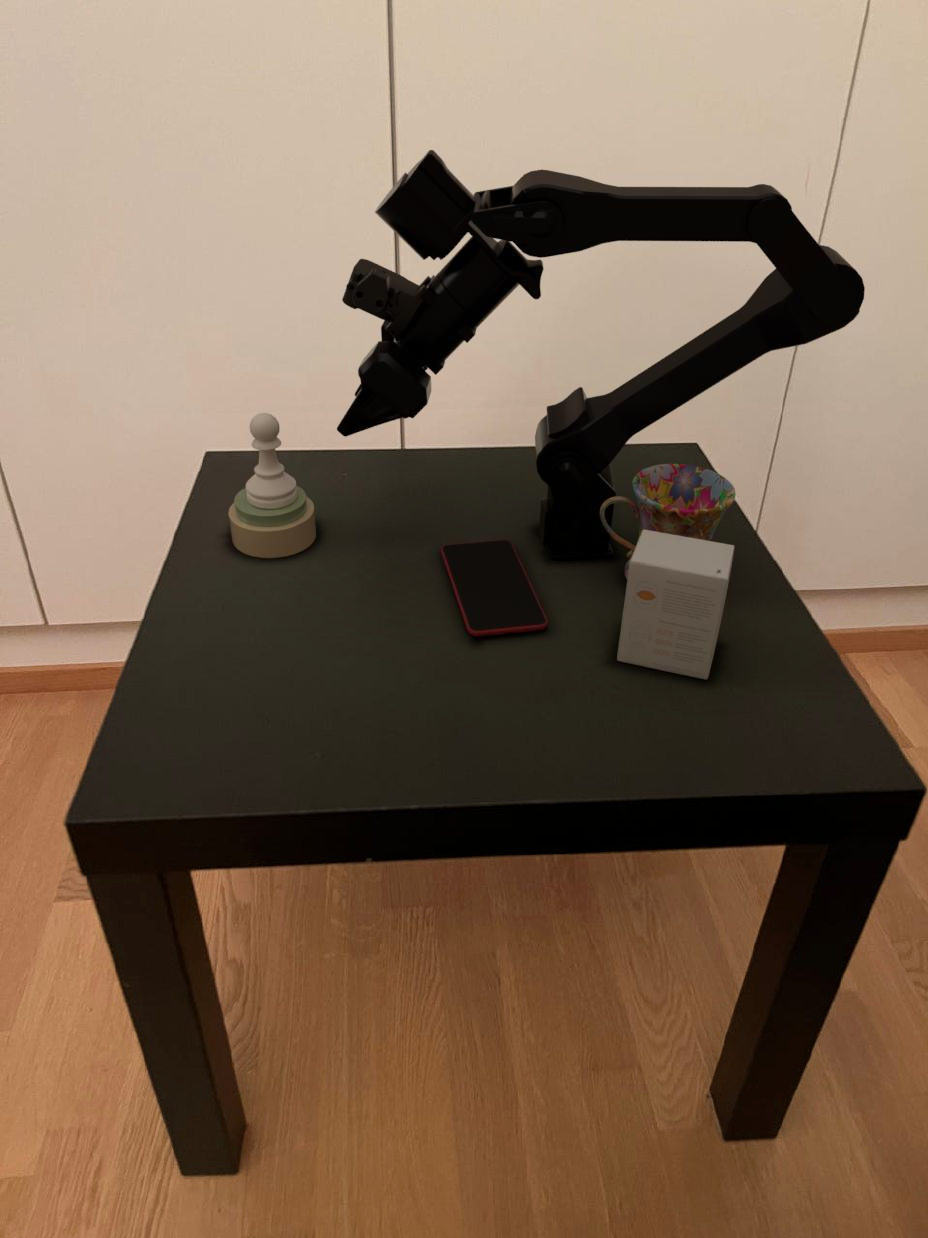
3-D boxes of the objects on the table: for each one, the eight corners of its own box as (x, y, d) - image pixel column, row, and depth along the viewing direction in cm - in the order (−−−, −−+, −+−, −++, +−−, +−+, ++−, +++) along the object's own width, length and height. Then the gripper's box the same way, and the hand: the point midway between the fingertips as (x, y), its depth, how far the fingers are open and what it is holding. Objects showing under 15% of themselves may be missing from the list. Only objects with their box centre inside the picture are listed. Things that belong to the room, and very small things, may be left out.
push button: (316, 514, 102) (313, 476, 100) (316, 556, 95) (312, 517, 93) (235, 517, 101) (230, 479, 99) (228, 560, 94) (223, 521, 92)
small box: (715, 645, 85) (738, 544, 78) (707, 682, 80) (730, 579, 74) (627, 626, 87) (642, 526, 81) (614, 662, 82) (629, 559, 76)
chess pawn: (276, 481, 99) (268, 399, 93) (307, 497, 96) (300, 414, 90) (237, 497, 95) (225, 414, 90) (267, 515, 93) (257, 430, 87)
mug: (704, 558, 96) (723, 463, 90) (724, 611, 89) (746, 512, 83) (587, 556, 96) (597, 461, 90) (596, 608, 89) (609, 509, 83)
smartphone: (469, 633, 84) (439, 544, 96) (469, 641, 84) (439, 552, 96) (550, 624, 85) (510, 538, 97) (549, 632, 86) (510, 545, 97)
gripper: (408, 208, 89) (306, 327, 96) (376, 251, 74) (257, 389, 80) (492, 294, 93) (388, 402, 100) (479, 353, 77) (356, 476, 84)
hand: (349, 414), depth 91 cm, fingers open, 9 cm apart
